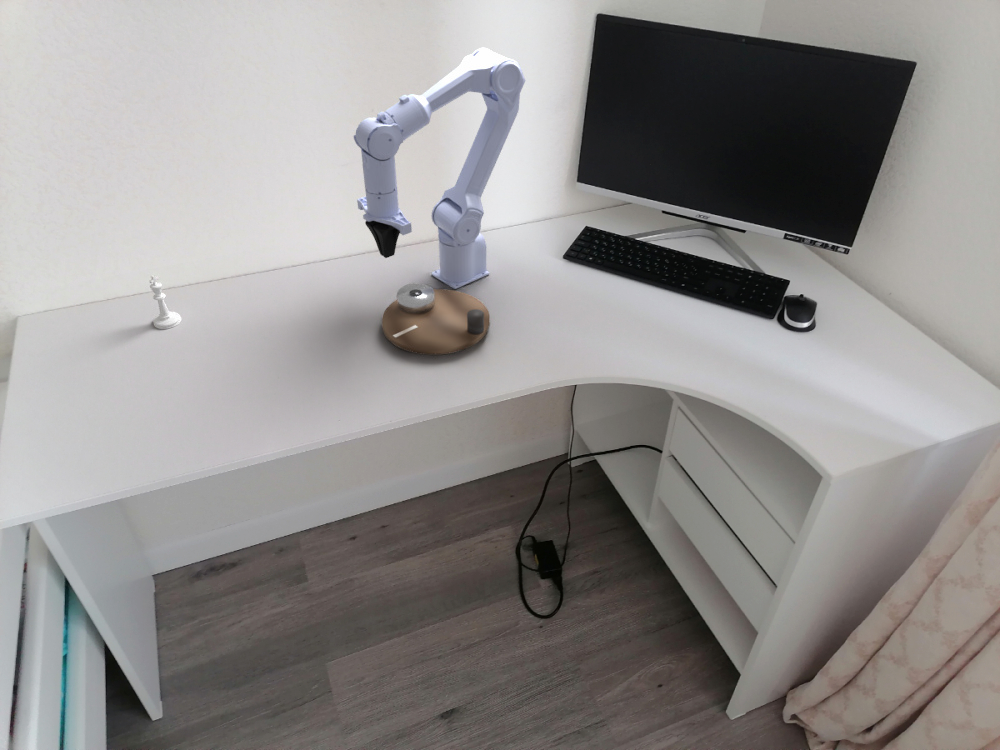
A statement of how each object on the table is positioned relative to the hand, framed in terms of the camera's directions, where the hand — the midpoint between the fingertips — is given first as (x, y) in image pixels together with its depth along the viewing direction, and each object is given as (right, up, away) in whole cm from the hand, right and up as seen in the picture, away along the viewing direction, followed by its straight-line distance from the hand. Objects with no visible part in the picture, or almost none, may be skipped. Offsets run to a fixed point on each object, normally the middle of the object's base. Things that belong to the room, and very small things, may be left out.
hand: (387, 254), depth 140 cm
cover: (+6, -10, 0) cm, 11 cm away
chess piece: (-41, -13, -2) cm, 43 cm away
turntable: (+10, -13, -3) cm, 17 cm away
